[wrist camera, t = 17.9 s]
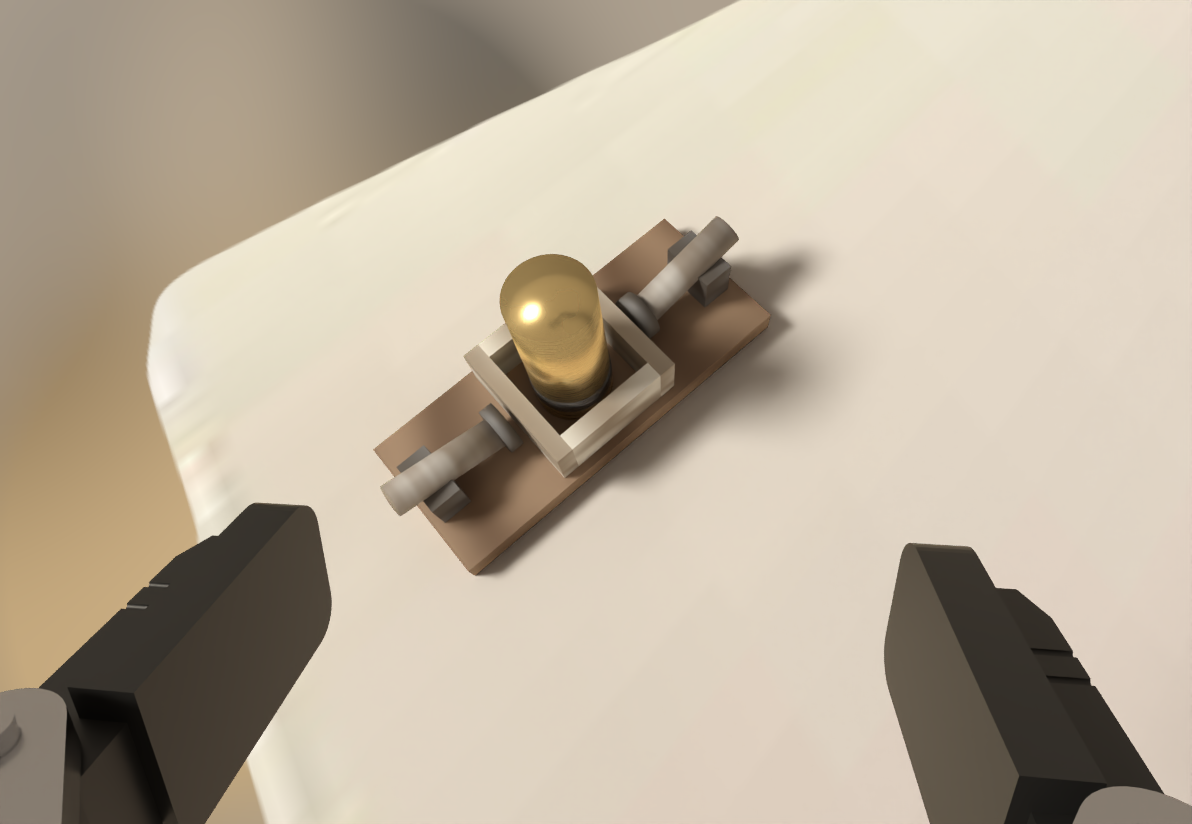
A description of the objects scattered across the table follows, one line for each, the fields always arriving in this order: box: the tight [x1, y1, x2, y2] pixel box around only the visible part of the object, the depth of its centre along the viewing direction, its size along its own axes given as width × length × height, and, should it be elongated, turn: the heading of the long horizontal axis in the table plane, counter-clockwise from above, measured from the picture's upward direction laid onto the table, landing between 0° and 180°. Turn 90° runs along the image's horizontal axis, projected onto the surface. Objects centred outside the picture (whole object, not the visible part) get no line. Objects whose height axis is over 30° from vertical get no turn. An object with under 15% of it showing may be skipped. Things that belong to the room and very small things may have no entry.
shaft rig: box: [373, 216, 771, 575], centre depth 42 cm, size 24×9×6 cm, turn 130°
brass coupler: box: [500, 254, 613, 420], centre depth 39 cm, size 4×4×10 cm
